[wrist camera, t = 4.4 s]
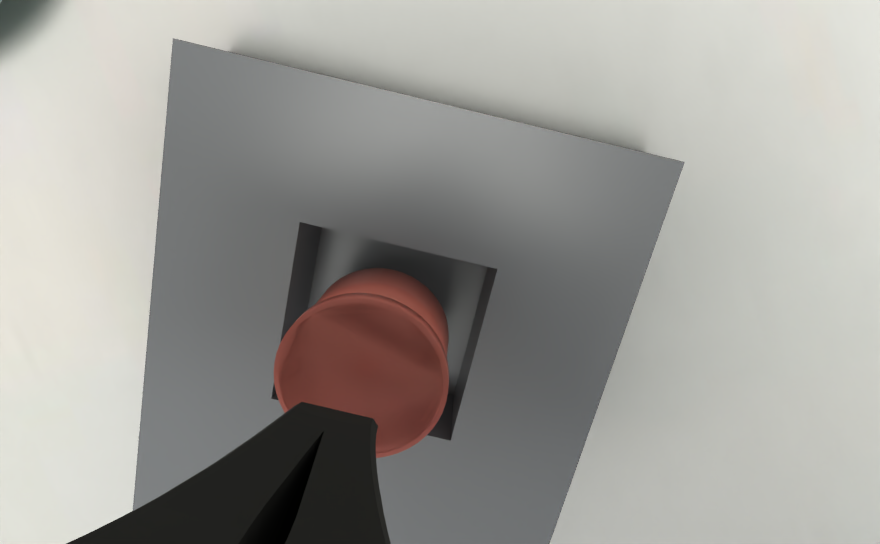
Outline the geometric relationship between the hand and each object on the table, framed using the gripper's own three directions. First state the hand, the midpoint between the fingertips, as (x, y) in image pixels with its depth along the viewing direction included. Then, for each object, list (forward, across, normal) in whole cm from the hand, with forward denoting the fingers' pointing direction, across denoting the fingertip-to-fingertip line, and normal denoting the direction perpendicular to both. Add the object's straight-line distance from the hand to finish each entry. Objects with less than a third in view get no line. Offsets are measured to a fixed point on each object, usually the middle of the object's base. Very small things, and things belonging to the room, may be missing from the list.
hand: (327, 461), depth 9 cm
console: (+8, 0, +6) cm, 10 cm away
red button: (+5, 0, 0) cm, 5 cm away
